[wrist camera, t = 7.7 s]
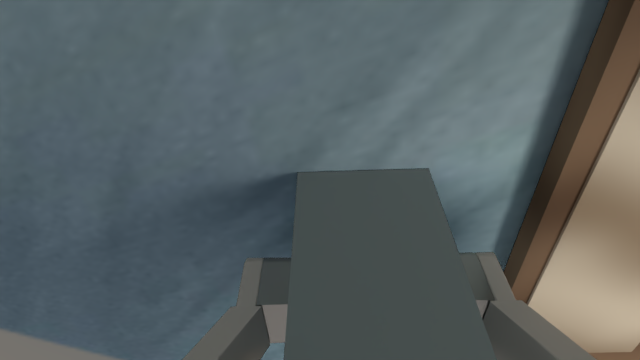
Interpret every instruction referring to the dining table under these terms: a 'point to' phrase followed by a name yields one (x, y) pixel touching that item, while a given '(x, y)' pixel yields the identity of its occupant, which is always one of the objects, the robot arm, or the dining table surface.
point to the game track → (591, 203)
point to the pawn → (378, 272)
